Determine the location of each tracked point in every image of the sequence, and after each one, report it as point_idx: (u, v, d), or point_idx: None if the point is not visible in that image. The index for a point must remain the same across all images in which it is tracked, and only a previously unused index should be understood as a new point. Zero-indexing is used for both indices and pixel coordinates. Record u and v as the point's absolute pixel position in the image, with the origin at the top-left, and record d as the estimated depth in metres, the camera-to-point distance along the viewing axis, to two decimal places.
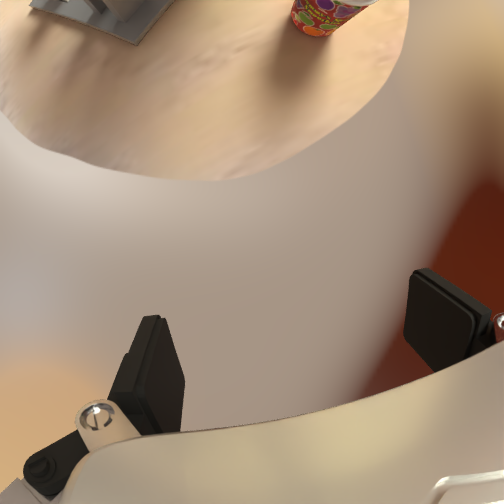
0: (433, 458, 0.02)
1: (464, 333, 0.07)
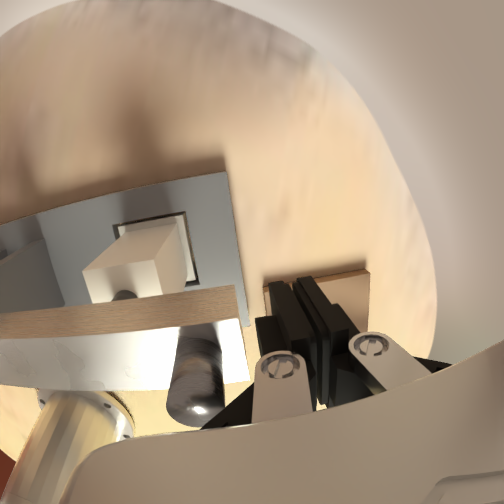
0: (433, 458, 0.02)
1: (320, 349, 0.08)
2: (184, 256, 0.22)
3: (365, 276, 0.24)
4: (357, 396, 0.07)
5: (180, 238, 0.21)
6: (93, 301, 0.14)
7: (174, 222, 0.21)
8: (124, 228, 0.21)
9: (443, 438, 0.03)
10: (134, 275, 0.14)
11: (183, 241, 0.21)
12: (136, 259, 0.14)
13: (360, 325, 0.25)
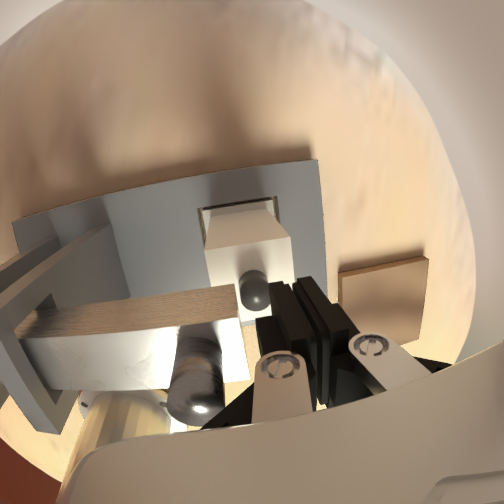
0: (433, 458, 0.02)
1: (320, 349, 0.08)
2: None
3: (425, 262, 0.24)
4: (357, 396, 0.07)
5: None
6: (212, 284, 0.14)
7: (264, 207, 0.21)
8: (209, 212, 0.21)
9: (443, 438, 0.03)
10: (267, 254, 0.14)
11: None
12: (266, 237, 0.14)
13: (417, 308, 0.26)
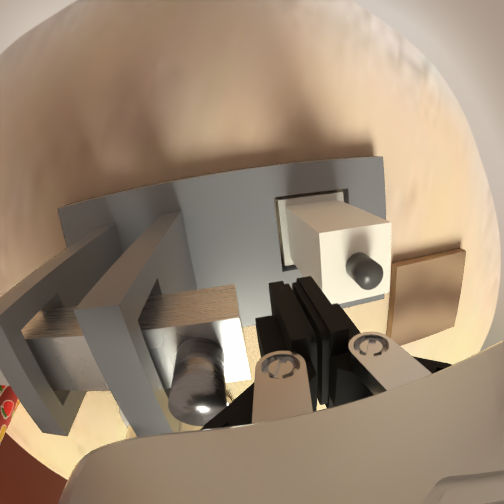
0: (433, 458, 0.02)
1: (320, 349, 0.08)
2: None
3: (463, 253, 0.25)
4: (357, 396, 0.07)
5: None
6: (322, 266, 0.15)
7: (335, 198, 0.22)
8: (284, 202, 0.21)
9: (443, 438, 0.03)
10: (371, 237, 0.14)
11: None
12: (369, 223, 0.15)
13: (455, 297, 0.26)
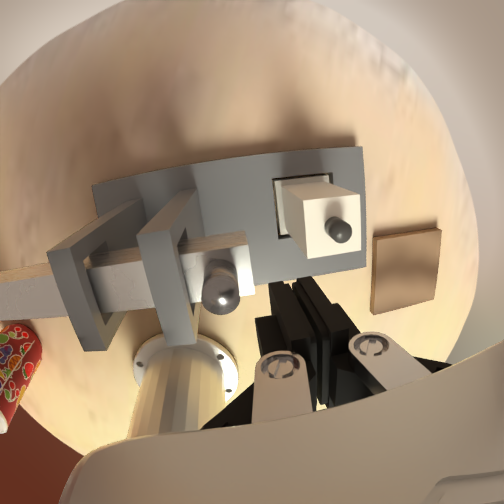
0: (433, 458, 0.02)
1: (320, 349, 0.08)
2: None
3: (438, 232, 0.29)
4: (357, 396, 0.07)
5: None
6: (306, 226, 0.20)
7: (322, 180, 0.26)
8: (280, 182, 0.26)
9: (443, 438, 0.03)
10: (344, 205, 0.19)
11: None
12: (343, 194, 0.20)
13: (433, 271, 0.31)
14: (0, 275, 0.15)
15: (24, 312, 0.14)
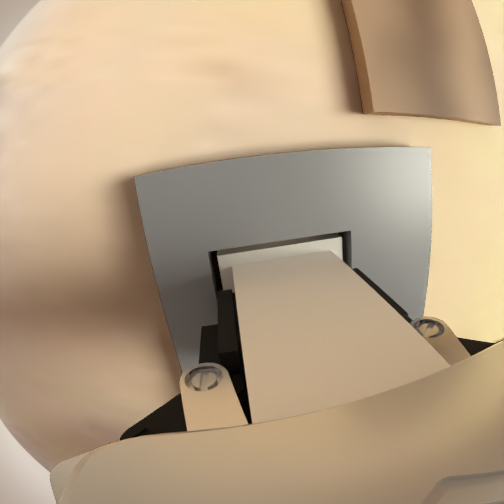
0: (433, 458, 0.02)
1: None
2: (296, 255, 0.12)
3: None
4: None
5: (261, 261, 0.12)
6: None
7: (231, 270, 0.12)
8: None
9: (443, 438, 0.03)
10: None
11: (267, 255, 0.12)
12: None
13: None
14: None
15: None
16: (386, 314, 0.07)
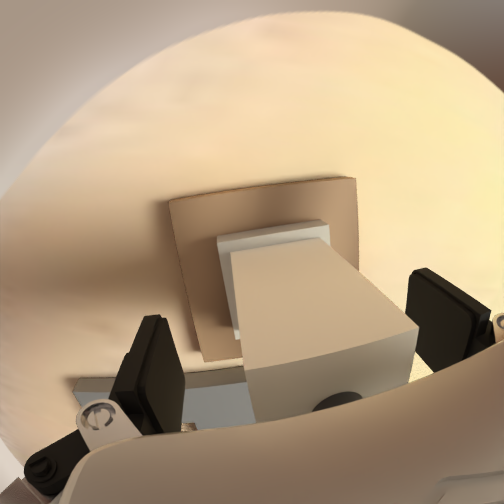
0: (433, 458, 0.02)
1: (463, 333, 0.07)
2: (287, 241, 0.13)
3: (174, 211, 0.14)
4: None
5: (256, 247, 0.13)
6: None
7: (229, 256, 0.13)
8: (238, 330, 0.14)
9: (443, 438, 0.03)
10: (280, 402, 0.06)
11: (261, 242, 0.13)
12: None
13: (279, 202, 0.14)
14: None
15: None
16: (362, 285, 0.08)
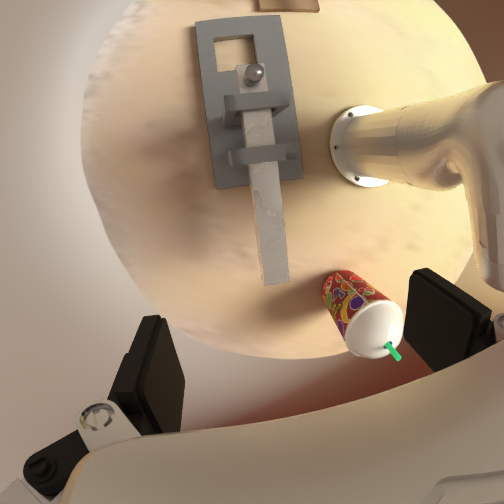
0: (433, 458, 0.02)
1: (464, 333, 0.07)
2: None
3: None
4: None
5: None
6: None
7: None
8: None
9: (443, 438, 0.03)
10: None
11: None
12: None
13: None
14: (257, 235, 0.31)
15: (277, 208, 0.29)
16: None
